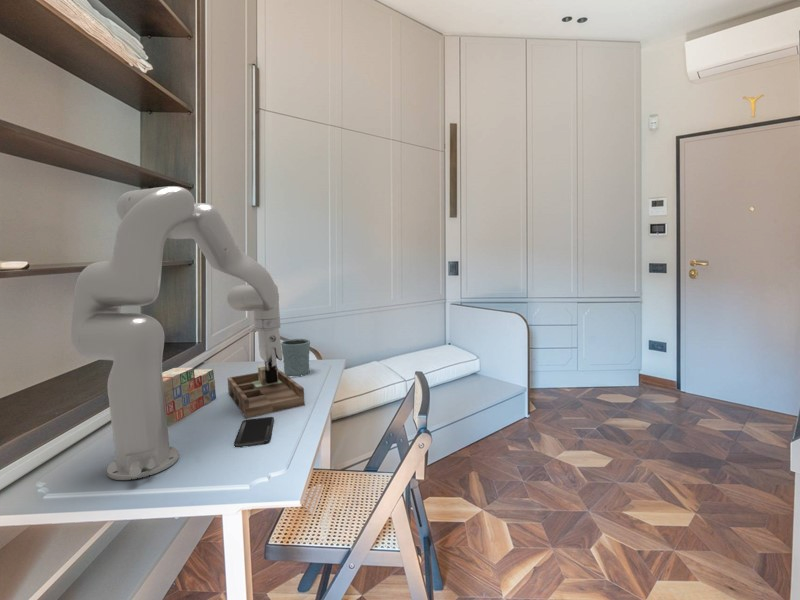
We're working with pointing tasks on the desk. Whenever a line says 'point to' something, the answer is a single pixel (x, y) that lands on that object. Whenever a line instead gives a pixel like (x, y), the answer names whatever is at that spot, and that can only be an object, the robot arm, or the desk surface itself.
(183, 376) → the stack of blocks
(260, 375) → the maple block
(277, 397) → the wooden shelf
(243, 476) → the desk surface
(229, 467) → the desk surface
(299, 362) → the grey green pot
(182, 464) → the desk surface
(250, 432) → the phone
